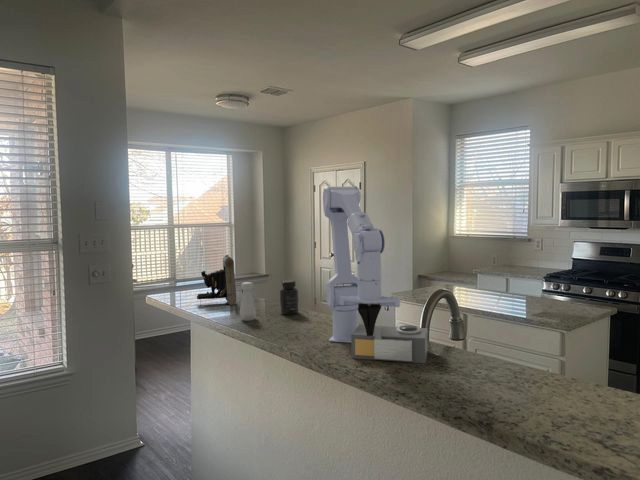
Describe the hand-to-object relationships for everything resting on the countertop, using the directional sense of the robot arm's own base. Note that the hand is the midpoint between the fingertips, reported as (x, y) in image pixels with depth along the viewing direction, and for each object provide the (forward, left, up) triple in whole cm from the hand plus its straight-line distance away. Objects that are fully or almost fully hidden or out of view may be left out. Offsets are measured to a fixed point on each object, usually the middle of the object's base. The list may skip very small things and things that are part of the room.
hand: (370, 334), depth 113 cm
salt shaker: (-36, -50, -7) cm, 62 cm away
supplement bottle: (-48, -39, -7) cm, 62 cm away
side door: (0, +5, -6) cm, 8 cm away
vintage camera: (-59, -75, -7) cm, 95 cm away
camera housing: (-6, +4, -6) cm, 10 cm away
